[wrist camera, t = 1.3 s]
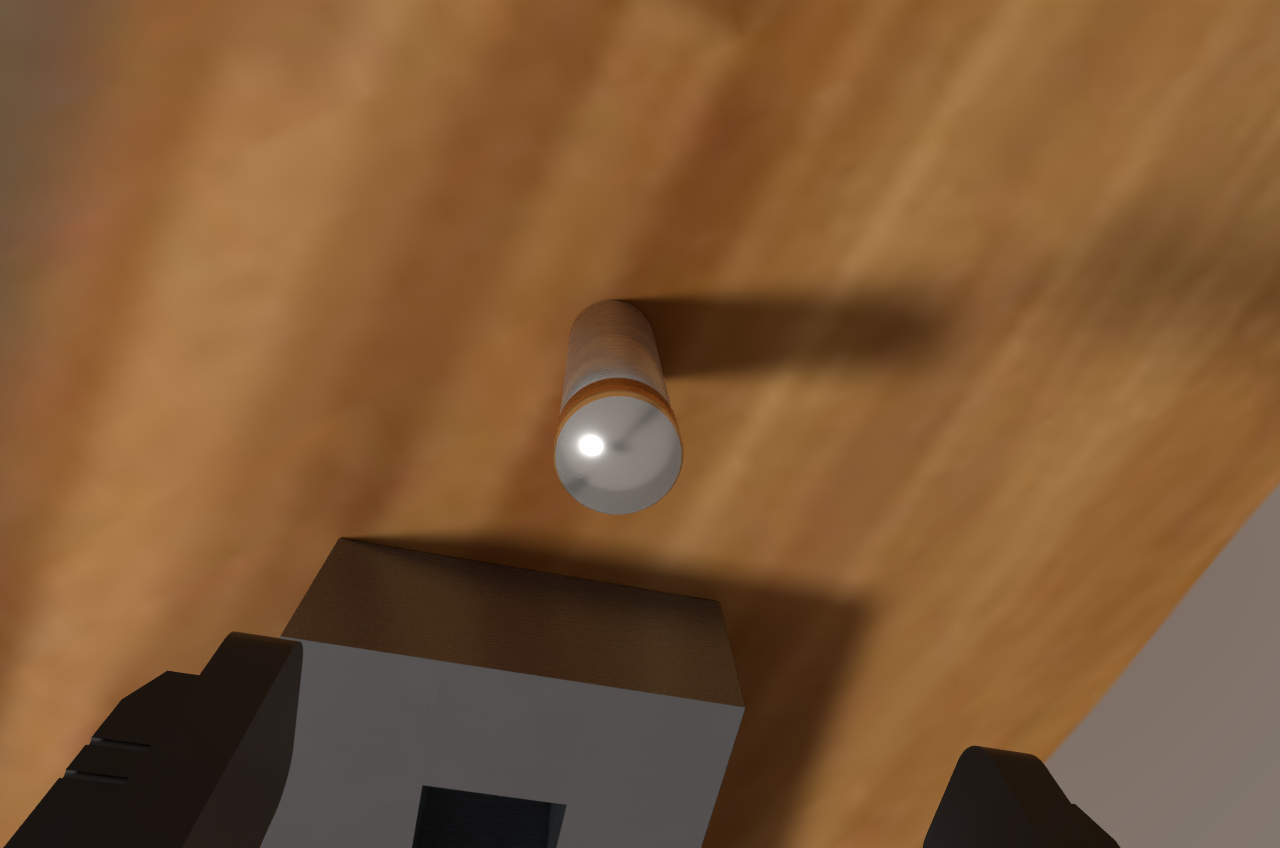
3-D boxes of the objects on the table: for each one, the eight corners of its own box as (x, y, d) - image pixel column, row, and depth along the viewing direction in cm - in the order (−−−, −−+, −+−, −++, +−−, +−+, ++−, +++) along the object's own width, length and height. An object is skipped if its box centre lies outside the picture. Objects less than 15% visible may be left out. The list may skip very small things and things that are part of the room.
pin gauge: (664, 308, 28) (697, 409, 19) (644, 390, 29) (667, 526, 20) (576, 290, 28) (566, 383, 18) (560, 374, 29) (542, 503, 19)
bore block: (719, 601, 32) (745, 707, 26) (639, 879, 37) (646, 1020, 31) (339, 538, 30) (280, 636, 25) (305, 837, 35) (249, 977, 29)
